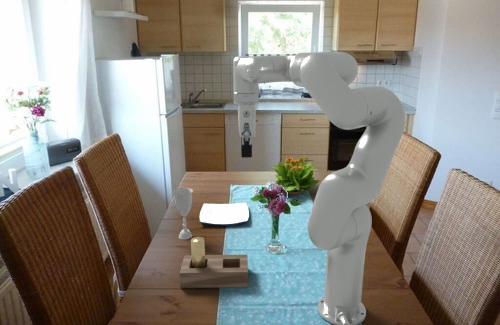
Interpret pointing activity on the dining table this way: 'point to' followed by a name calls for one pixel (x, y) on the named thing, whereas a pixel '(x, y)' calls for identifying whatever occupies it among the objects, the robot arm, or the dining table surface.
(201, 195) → the dining table surface
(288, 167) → the potted flower
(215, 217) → the plate
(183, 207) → the chalice
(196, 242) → the pin
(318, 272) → the dining table surface
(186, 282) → the hole block
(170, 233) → the dining table surface
